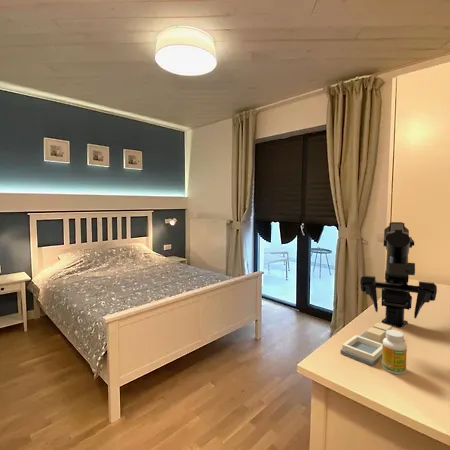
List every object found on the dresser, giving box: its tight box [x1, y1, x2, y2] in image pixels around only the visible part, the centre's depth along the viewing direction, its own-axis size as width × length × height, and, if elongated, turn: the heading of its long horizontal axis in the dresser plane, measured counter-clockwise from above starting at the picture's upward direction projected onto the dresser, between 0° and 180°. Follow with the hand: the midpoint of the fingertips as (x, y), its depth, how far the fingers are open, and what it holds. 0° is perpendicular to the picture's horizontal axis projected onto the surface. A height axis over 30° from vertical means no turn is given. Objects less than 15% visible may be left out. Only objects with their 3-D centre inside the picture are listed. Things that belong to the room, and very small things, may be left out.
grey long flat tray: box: [340, 322, 393, 367], centre depth 86 cm, size 22×9×4 cm, turn 131°
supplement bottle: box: [381, 329, 408, 375], centre depth 74 cm, size 5×5×10 cm
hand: (395, 314), depth 79 cm, fingers open, 9 cm apart
